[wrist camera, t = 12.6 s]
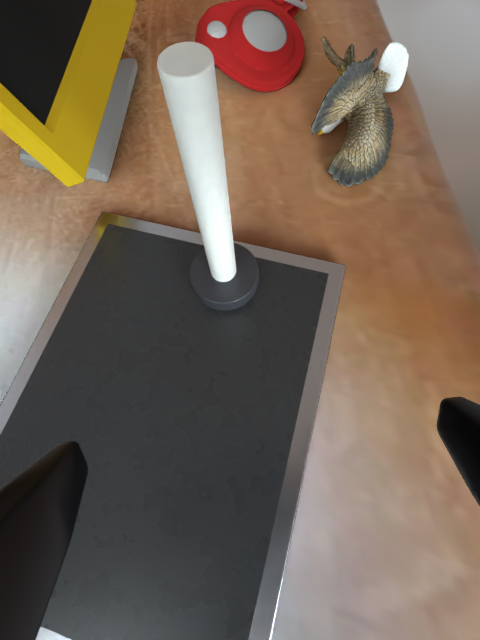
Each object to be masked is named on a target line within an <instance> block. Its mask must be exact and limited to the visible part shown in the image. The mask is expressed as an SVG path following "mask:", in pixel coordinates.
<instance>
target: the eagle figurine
mask: <svg viewBox="0 0 480 640" xmlns="http://www.w3.org/2000/svg"><path fill="white" fill-rule="evenodd" d="M321 41H322V44H323V48H324V51H325V54H326V56H327V57H328V59H329V60H330V62H331V63H332V64H333V65H335V66H336V68H337V70H338V71H339V72H340V76H339V78H338V79H337V81H336V82H335V83H334V84H333V86H332V87H331V88H330V89H329V91H328V92H327V95H326V96H325V98H324V100H323V101H322V103H321V107H320V109H319V110H318V112H317V115H316V118H315V120H314V122H313V123H312V125H311V128H312V130H311V132H312V135H314V134H315V133H316V132H317V131H319V130H320V129H321V130H320V131H319V132H318V135H321V134H323V133H330V132H331V131H332V130H333V129H335V128H336V127H337V126H338V125H339V124H340V123H341V122H343V121H345V120H347V121H348V124H349V127H348V131H347V134H346V137H345V140H344V143H343V145H342V147H341V149H340V151H339V152H338V154H337V155H336V156H335V158H334V160H333V161H332V163H331V165H330V167H329V169H328V172H329V173H331V174H332V178H333V179H334V180H338V183H339V184H340V185H346V186H347V187H350V186H352V185H353V184H354V183H356V184H361V183H362V182H363V180H364V178H366V179H367V180H370V179H371V177H372V175H373V176H375V175H377V174H378V172H379V171H380V170H381V167H383V166H384V164H385V161H386V159H387V158H388V151H389V148H390V141H391V136H392V130H393V119H392V113H391V110H390V108H389V107H388V104H387V102H386V101H385V96H384V95H383V92H384V93H386V92H395V91H397V90H399V88H400V87H401V85H402V83H403V81H404V77H405V73H406V70H407V68H408V59H409V54H408V52H407V50H406V47H404V46H403V45H402V44H400V43H397V42H391V43H390V44H388V46H387V47H386V49H385V50H384V52H383V54H382V57H381V59H380V61H379V64H378V67H377V68H376V69H375V70H374V71H373V67H374V60H375V57H376V55H377V53H378V51H377V48H376V49H374V51H373V52H372V54H371V55H370V56H369V58H368V59H367V58H366V59H365V60H364V61H363V62H361V61H359V62H358V63H356V62H354V45H353V44H351V45H350V46H349V47H348V49H347V50H346V52H345V55H344V60H342V59H341V58H340V57H339V56H338V55H337V54H336V53H335V51H334V50H333V49H332V48H331V46H330V43H329V41H328V40H327V38H325V37H322V39H321Z"/></svg>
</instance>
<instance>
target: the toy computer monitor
mask: <svg viewBox="0 0 480 640" xmlns="http://www.w3.org/2000/svg"><path fill="white" fill-rule="evenodd" d="M135 8H136V1H135V0H0V130H2V131H3V132H4V133H5V134H6V135H7V136H9V137H10V138H11V139H12V140H13V141H15V142H16V143H17V144H18V145H19V146H20V147H22V149H21V152H20V154H19V157H20V159H21V160H22V161H23V162H24V163H25V165H26V166H29V167H34V168H39V169H44V170H49V171H50V172H51V173H52V174H53V175H55V176H56V177H57V178H58V179H59V180H60V181H62V182H63V183H64V184H65V185H66V186H67V187H68V186H73V185H76V184H79V183H81V182H84V179H85V178H88V179H93V180H98V181H103V182H107V181H108V180H109V176H110V173H111V169H112V165H113V161H114V157H115V154H116V150H117V146H118V142H119V139H120V135H121V131H122V127H123V123H124V120H125V116H126V112H127V108H128V105H129V101H130V97H131V93H132V89H133V86H134V82H135V78H136V74H137V71H138V67H137V63H136V60H135V59H134V58H126V59H121V55H122V52H123V48H124V45H125V42H126V38H127V35H128V32H129V28H130V25H131V22H132V18H133V15H134V12H135Z"/></svg>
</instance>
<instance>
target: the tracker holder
mask: <svg viewBox="0 0 480 640" xmlns="http://www.w3.org/2000/svg"><path fill="white" fill-rule="evenodd" d="M300 8H301V9H303V10H305V9H306V8H307V5H306V3H305V1H304V0H234V1H229V2H225V3H221V4H217V5H215V6H212V7H210V8H209V9H208V10H207V11H206V12H205V13H204V15H203V16H202V17H201V19H200V20H199V22H198V25H197V30H196V40H195V42H196V43H200V44H203V45H205V46H206V47H208V48H209V49H210V51H211V52H212V54H213V57H214V64H215V65H216V66H217V67H218V68H219V69H220V70H221V71H223V72H224V73H225V74H226V75H228V76H229V77H231V78H232V79H234V80H235V81H237V82H238V83H240V84H242V85H244V86H246V87H247V88H250V89H252V90H256V91H262V92H264V91H275V90H278V89H281V88H283V87H285V86H286V85H288V84H289V83H290V82H291V81H292V80H293V79H294V78H295V76H296V75H297V73H298V71H299V69H300V67H301V64H302V62H303V59H304V52H305V47H304V40H303V37H302V34H301V31H300V29H299V27H298V25H297V24H296V22H295V21H294V20H293V17H294V16H295V15H296V13H297V12H298V10H299V9H300Z"/></svg>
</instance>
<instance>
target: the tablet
mask: <svg viewBox="0 0 480 640" xmlns="http://www.w3.org/2000/svg"><path fill="white" fill-rule="evenodd" d="M233 242H234V243H237V244H239V245H242V246H243V247H245V248H247V249H248V250H249V251H250V252H251V253H252V254H253V255H254V257H255V259H256V260H257V263H258V267H259V283H258V288H257V290H256V292H255V294H254V296H253V297H252V298H251V299H250V300H249V301H248V302H247V303H246V304H244V305H243V306H241V307H238V308H236V309H232V310H216V309H213V308H210V307H208V306H206V305H204V304H203V303H202V302H201V301H200V300H199V299H198V298H197V296H196V295H195V293H194V291H193V288H192V286H191V283H190V280H189V269H190V265H191V263H192V261H193V259H194V257H195V256H196V255H197V254H198V253H199V252H200V251H201V250H202V249H203V248H204V244H203V241H202V237H201V233H198V232H194V231H189V230H185V229H180V228H176V227H171V226H166V225H162V224H157V223H153V222H148V221H144V220H139V219H135V218H130V217H126V216H121V215H117V214H112V213H108V212H103V211H102V212H101V214H100V216H99V218H98V220H97V222H96V224H95V226H94V228H93V229H92V231H91V233H90V235H89V237H88V239H87V241H86V243H85V245H84V247H83V249H82V250H81V252H80V254H79V256H78V258H77V260H76V262H75V264H74V266H73V268H72V270H71V271H70V273H69V275H68V277H67V279H66V281H65V283H64V285H63V287H62V289H61V291H60V292H59V294H58V296H57V298H56V300H55V302H54V304H53V306H52V308H51V310H50V311H49V313H48V315H47V317H46V319H45V321H44V323H43V325H42V327H41V329H40V331H39V332H38V334H37V336H36V338H35V340H34V342H33V344H32V346H31V348H30V350H29V352H28V353H27V355H26V357H25V359H24V361H23V363H22V365H21V367H20V369H19V371H18V373H17V374H16V376H15V378H14V380H13V382H12V384H11V386H10V388H9V390H8V392H7V394H6V395H5V397H4V399H3V401H2V403H1V405H0V489H1V488H2V487H3V486H4V485H6V484H7V483H8V482H10V481H11V480H12V479H13V478H15V477H16V476H17V475H18V474H20V473H21V472H22V471H23V470H25V469H26V468H27V467H29V466H30V465H31V464H32V463H34V462H35V461H36V460H37V459H39V458H40V457H41V456H42V455H44V454H45V453H46V452H48V451H49V450H50V449H51V448H53V447H54V446H55V445H56V444H58V443H61V442H69V441H76V442H77V443H79V445H80V448H81V450H82V452H83V455H84V457H85V460H86V462H87V465H88V475H87V479H86V483H85V487H84V491H83V495H82V499H81V503H80V507H79V511H78V515H77V519H76V523H75V527H74V531H73V534H72V538H71V541H70V544H69V547H68V550H67V553H66V556H65V559H64V562H63V565H62V567H61V570H60V573H59V576H58V579H57V581H56V584H55V587H54V590H53V593H52V596H51V598H50V601H49V604H48V607H47V610H46V612H45V615H44V618H43V621H42V624H41V627H40V629H39V632H38V635H37V638H36V640H271V636H272V631H273V626H274V621H275V616H276V611H277V606H278V601H279V596H280V592H281V587H282V582H283V577H284V572H285V567H286V562H287V557H288V552H289V547H290V542H291V537H292V532H293V527H294V522H295V517H296V512H297V507H298V502H299V497H300V492H301V487H302V482H303V477H304V472H305V467H306V462H307V457H308V452H309V447H310V442H311V437H312V432H313V427H314V422H315V417H316V413H317V408H318V403H319V398H320V393H321V388H322V383H323V378H324V373H325V368H326V363H327V358H328V353H329V348H330V343H331V338H332V333H333V328H334V323H335V318H336V313H337V308H338V303H339V298H340V293H341V288H342V283H343V278H344V273H345V268H346V265H342V264H338V263H333V262H329V261H324V260H320V259H315V258H311V257H306V256H302V255H297V254H293V253H288V252H284V251H279V250H275V249H270V248H266V247H261V246H257V245H252V244H248V243H243V242H239V241H234V240H233Z"/></svg>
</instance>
